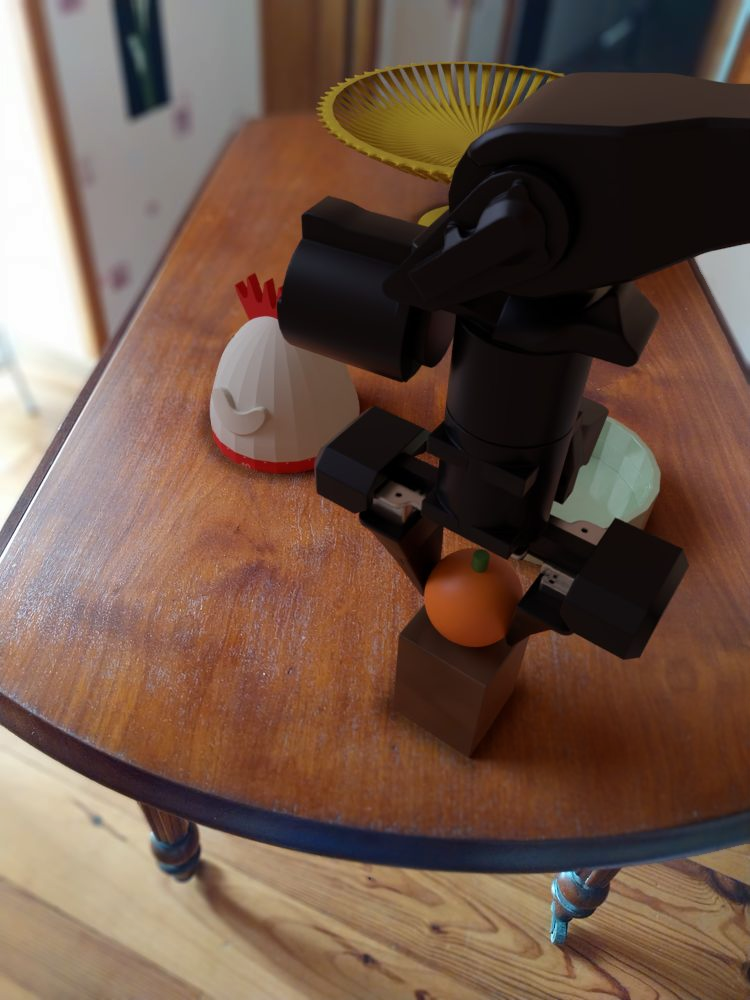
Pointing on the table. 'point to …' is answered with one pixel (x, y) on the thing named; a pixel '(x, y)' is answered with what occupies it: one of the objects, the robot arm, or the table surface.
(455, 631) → the toy orange fruit
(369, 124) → the yellow pedestal fruit stand
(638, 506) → the bowl
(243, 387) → the white chicken figurine
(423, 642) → the block
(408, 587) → the table surface
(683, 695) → the table surface
